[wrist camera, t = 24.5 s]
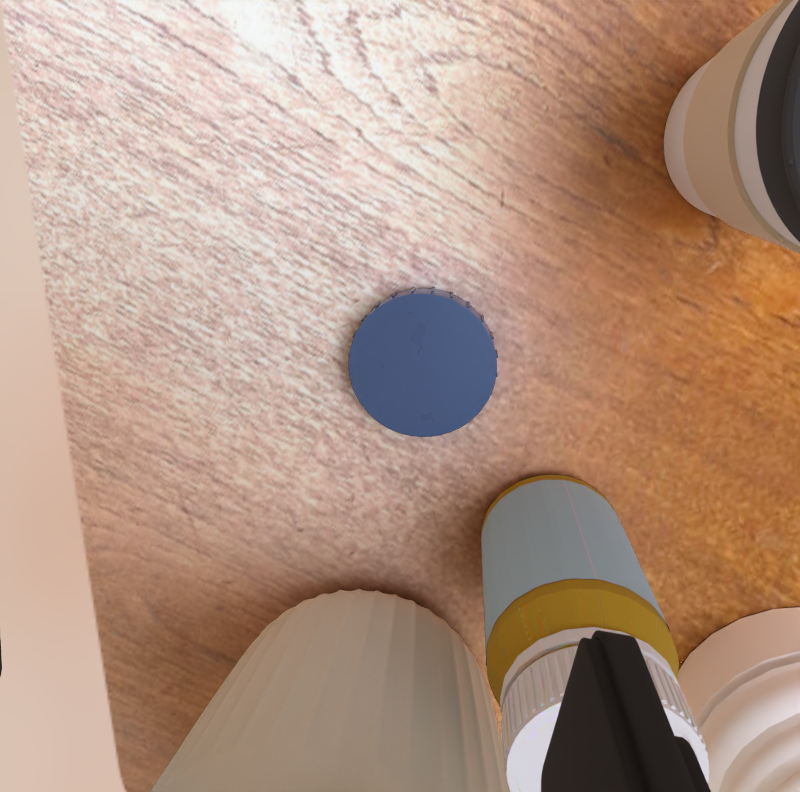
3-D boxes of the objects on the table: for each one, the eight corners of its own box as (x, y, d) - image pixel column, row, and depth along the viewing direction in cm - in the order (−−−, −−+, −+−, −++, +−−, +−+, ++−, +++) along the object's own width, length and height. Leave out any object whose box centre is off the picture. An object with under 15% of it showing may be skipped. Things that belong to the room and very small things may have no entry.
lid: (473, 441, 33) (473, 454, 32) (339, 405, 34) (332, 416, 32) (515, 308, 31) (517, 315, 30) (371, 269, 31) (366, 274, 30)
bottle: (622, 469, 33) (739, 685, 19) (613, 590, 35) (712, 866, 21) (481, 468, 34) (492, 675, 20) (480, 587, 36) (490, 851, 22)
